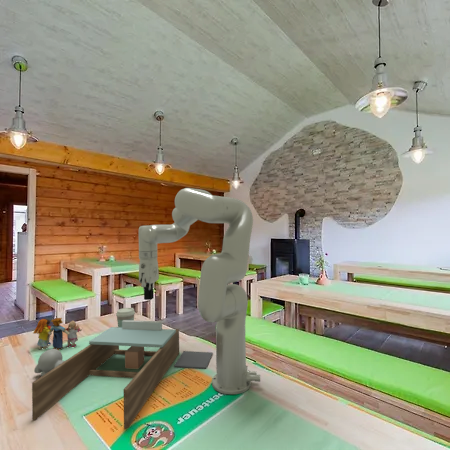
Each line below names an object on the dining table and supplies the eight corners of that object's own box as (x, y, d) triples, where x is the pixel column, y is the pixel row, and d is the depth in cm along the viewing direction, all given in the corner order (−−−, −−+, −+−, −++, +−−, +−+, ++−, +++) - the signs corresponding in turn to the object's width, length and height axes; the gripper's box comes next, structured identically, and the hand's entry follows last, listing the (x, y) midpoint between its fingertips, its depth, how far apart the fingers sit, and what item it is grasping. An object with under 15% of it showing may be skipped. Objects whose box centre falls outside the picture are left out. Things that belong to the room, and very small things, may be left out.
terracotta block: (144, 362, 104) (144, 346, 104) (138, 369, 99) (137, 352, 99) (131, 361, 105) (131, 345, 105) (125, 368, 100) (124, 351, 100)
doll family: (83, 345, 121) (82, 315, 121) (67, 355, 111) (66, 322, 112) (41, 342, 124) (41, 313, 125) (22, 351, 115) (22, 320, 115)
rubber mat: (212, 353, 110) (212, 352, 110) (206, 369, 98) (206, 367, 98) (183, 352, 112) (183, 351, 112) (173, 367, 100) (173, 365, 100)
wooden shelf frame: (179, 353, 111) (178, 329, 111) (127, 428, 69) (127, 389, 69) (116, 350, 115) (116, 326, 115) (32, 419, 73) (32, 382, 73)
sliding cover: (175, 332, 107) (175, 321, 107) (162, 347, 93) (162, 335, 93) (111, 329, 111) (111, 319, 111) (89, 344, 97) (89, 332, 97)
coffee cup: (131, 338, 127) (131, 312, 127) (113, 338, 127) (112, 312, 127) (137, 331, 135) (137, 307, 136) (120, 331, 136) (120, 307, 136)
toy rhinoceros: (54, 391, 91) (61, 368, 90) (29, 372, 94) (35, 350, 93) (72, 379, 98) (79, 358, 97) (48, 362, 101) (55, 341, 100)
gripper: (149, 256, 107) (149, 304, 107) (163, 253, 122) (164, 294, 122) (130, 257, 108) (131, 303, 108) (147, 253, 123) (148, 294, 123)
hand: (148, 298), depth 115 cm, fingers closed
